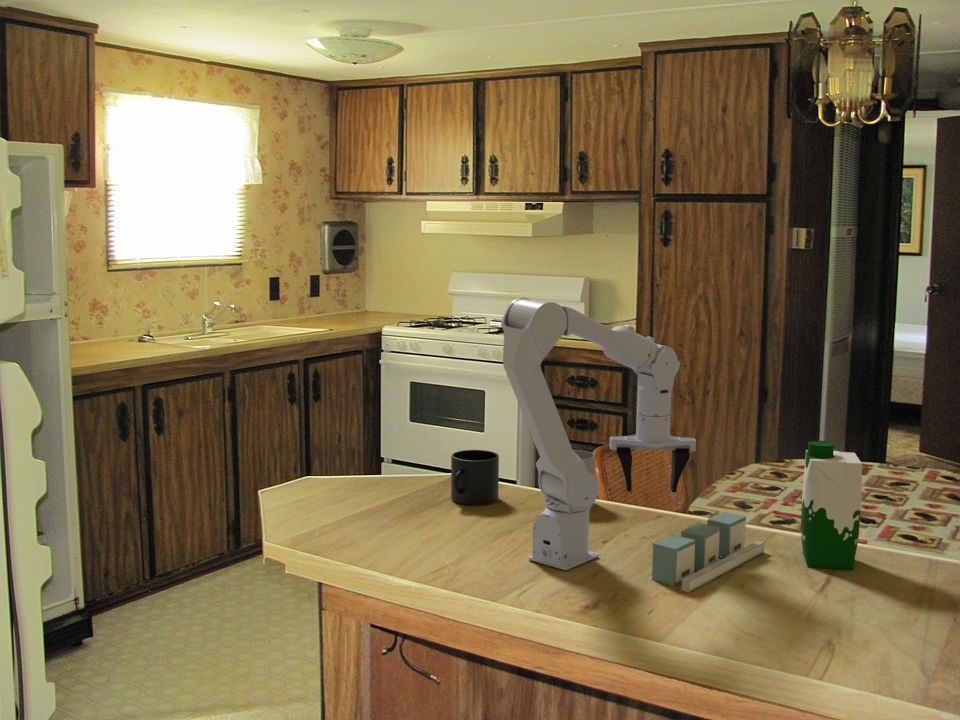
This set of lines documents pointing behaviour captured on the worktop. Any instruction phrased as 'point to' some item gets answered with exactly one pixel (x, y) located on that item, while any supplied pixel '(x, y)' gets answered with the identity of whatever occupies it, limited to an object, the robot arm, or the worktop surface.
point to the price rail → (722, 566)
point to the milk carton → (830, 506)
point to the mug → (474, 477)
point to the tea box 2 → (704, 543)
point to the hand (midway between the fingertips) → (651, 490)
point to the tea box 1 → (673, 559)
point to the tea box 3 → (729, 532)
